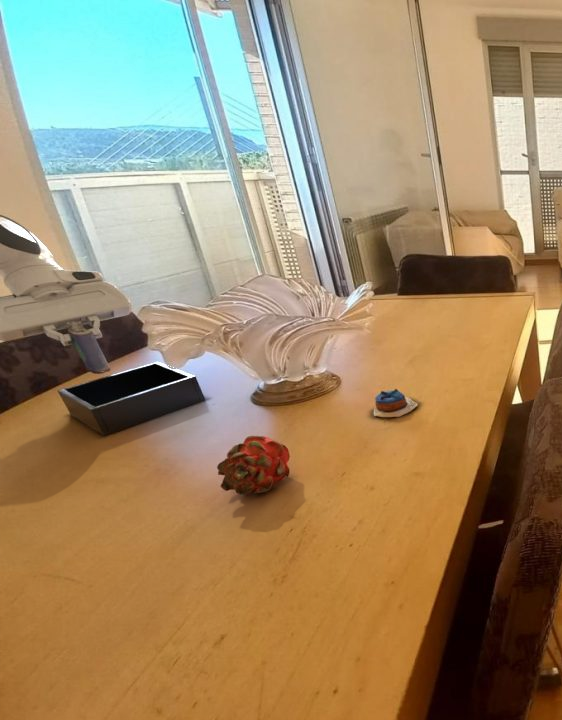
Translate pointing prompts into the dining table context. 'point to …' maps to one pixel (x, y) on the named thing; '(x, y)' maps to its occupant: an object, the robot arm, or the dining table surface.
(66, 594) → the dining table surface
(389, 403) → the dessert
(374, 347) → the dining table surface
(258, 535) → the dining table surface
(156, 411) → the basin
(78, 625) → the dining table surface
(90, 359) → the flask
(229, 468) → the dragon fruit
